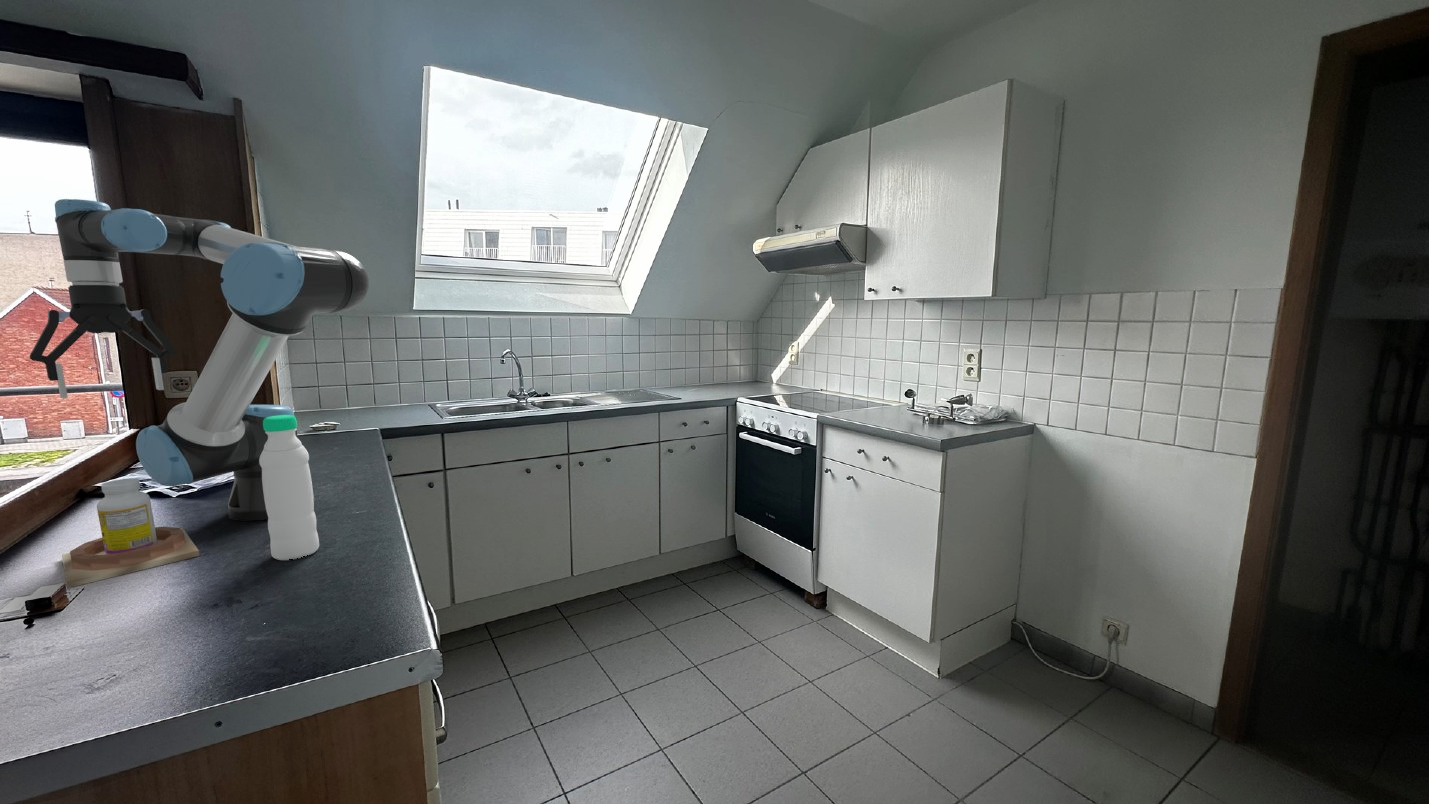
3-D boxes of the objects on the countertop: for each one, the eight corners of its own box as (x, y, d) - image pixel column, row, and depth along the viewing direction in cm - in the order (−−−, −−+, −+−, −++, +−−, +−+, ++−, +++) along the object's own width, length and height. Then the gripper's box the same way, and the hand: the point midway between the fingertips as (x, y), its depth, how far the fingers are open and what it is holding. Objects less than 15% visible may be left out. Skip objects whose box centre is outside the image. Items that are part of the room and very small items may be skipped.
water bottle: (328, 549, 108) (313, 414, 104) (287, 564, 102) (269, 421, 98) (304, 543, 111) (288, 411, 107) (263, 557, 105) (244, 418, 101)
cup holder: (183, 533, 116) (181, 518, 116) (199, 555, 106) (197, 539, 105) (62, 559, 104) (59, 543, 104) (67, 587, 94) (64, 570, 93)
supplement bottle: (118, 547, 107) (106, 478, 105) (165, 542, 109) (154, 474, 107) (96, 562, 101) (83, 489, 98) (147, 556, 103) (135, 484, 101)
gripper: (176, 286, 127) (191, 385, 130) (-6, 283, 107) (16, 399, 111) (185, 285, 122) (200, 387, 125) (-4, 282, 103) (20, 403, 106)
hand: (114, 393), depth 118 cm, fingers open, 13 cm apart
